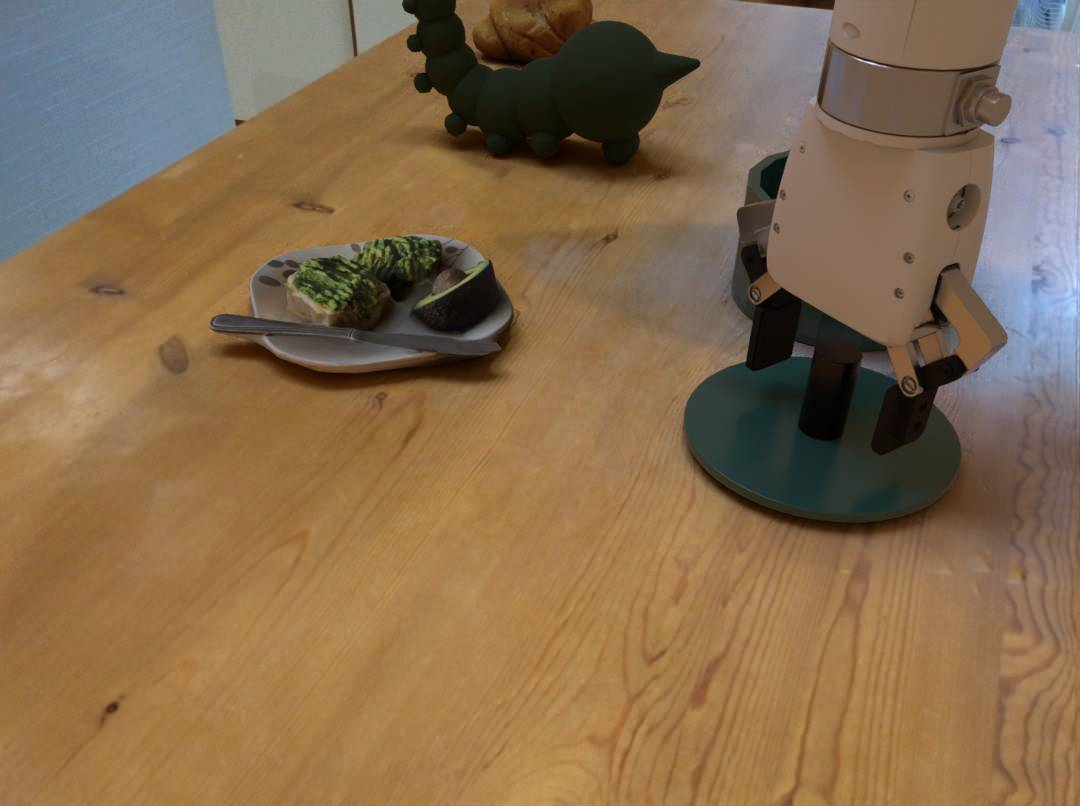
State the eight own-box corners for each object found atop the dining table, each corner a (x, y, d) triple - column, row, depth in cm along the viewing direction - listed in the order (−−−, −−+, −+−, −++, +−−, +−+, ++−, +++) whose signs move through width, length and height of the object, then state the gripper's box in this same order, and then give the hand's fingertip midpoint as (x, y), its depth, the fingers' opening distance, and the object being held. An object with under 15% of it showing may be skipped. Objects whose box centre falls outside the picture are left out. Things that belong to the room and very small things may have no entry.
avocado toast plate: (225, 418, 62) (211, 349, 59) (203, 279, 75) (190, 216, 72) (540, 371, 67) (542, 305, 64) (469, 248, 79) (468, 188, 76)
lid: (814, 348, 70) (834, 260, 66) (1013, 469, 60) (1051, 375, 56) (627, 420, 63) (636, 327, 59) (818, 570, 53) (845, 472, 49)
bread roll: (465, 66, 112) (463, -18, 106) (483, 39, 119) (482, -41, 114) (586, 75, 110) (590, -9, 105) (597, 47, 118) (601, -33, 112)
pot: (832, 235, 83) (854, 132, 77) (985, 314, 74) (1023, 203, 68) (689, 281, 76) (703, 172, 71) (838, 374, 67) (867, 257, 62)
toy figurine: (409, 170, 94) (686, 185, 88) (374, -72, 82) (692, -76, 76) (448, 134, 101) (707, 145, 94) (421, -94, 89) (716, -100, 82)
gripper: (1122, 132, 45) (997, 458, 56) (823, 27, 55) (769, 319, 67) (1010, 168, 41) (901, 507, 53) (715, 49, 52) (677, 352, 63)
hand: (827, 402), depth 60 cm, fingers open, 9 cm apart
